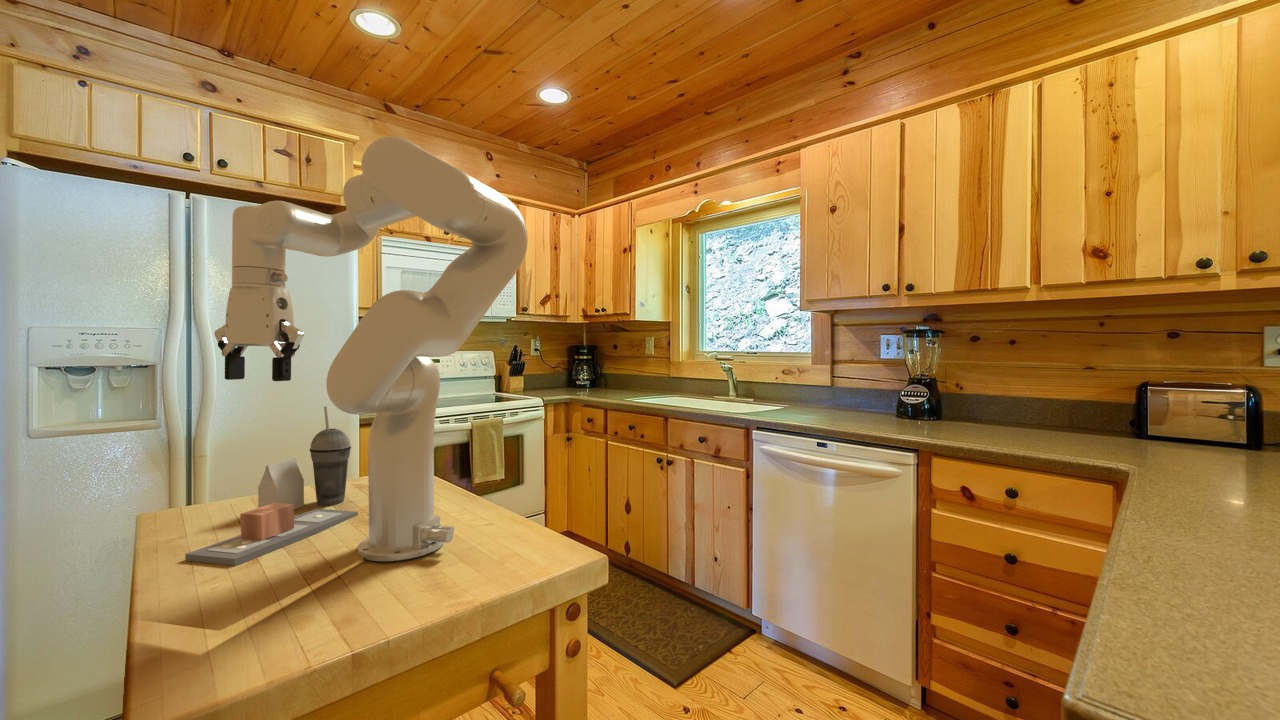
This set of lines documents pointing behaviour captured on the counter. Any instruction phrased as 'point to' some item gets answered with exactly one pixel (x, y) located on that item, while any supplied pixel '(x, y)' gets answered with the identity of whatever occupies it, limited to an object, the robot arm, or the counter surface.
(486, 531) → the counter surface
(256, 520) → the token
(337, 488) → the beverage cup
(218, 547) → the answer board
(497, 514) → the counter surface
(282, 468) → the gable top carton
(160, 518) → the counter surface
